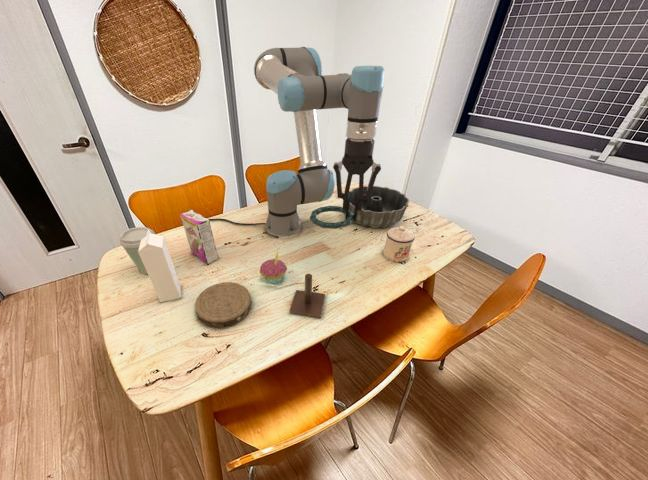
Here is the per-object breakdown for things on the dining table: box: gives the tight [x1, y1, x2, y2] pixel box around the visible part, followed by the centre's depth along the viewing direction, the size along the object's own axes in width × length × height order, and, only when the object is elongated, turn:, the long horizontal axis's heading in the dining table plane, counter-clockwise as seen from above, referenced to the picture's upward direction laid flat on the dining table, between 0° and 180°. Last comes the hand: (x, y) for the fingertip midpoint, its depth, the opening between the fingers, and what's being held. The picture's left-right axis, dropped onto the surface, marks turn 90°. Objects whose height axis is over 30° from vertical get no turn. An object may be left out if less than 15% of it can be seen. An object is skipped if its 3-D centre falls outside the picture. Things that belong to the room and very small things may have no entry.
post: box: [289, 273, 326, 319], centre depth 79 cm, size 9×9×11 cm
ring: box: [309, 205, 354, 230], centre depth 88 cm, size 14×14×2 cm
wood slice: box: [194, 281, 252, 329], centre depth 81 cm, size 16×16×3 cm
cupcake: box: [259, 251, 288, 285], centre depth 88 cm, size 9×8×12 cm
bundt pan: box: [348, 185, 410, 229], centre depth 120 cm, size 26×26×10 cm
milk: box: [138, 228, 182, 303], centre depth 80 cm, size 6×6×22 cm
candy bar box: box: [179, 209, 219, 265], centre depth 98 cm, size 11×5×16 cm, turn 47°
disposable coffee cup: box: [118, 226, 156, 275], centre depth 93 cm, size 11×11×15 cm
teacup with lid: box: [383, 225, 416, 263], centre depth 98 cm, size 12×9×12 cm
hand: (350, 219), depth 87 cm, fingers closed on ring, 2 cm apart
